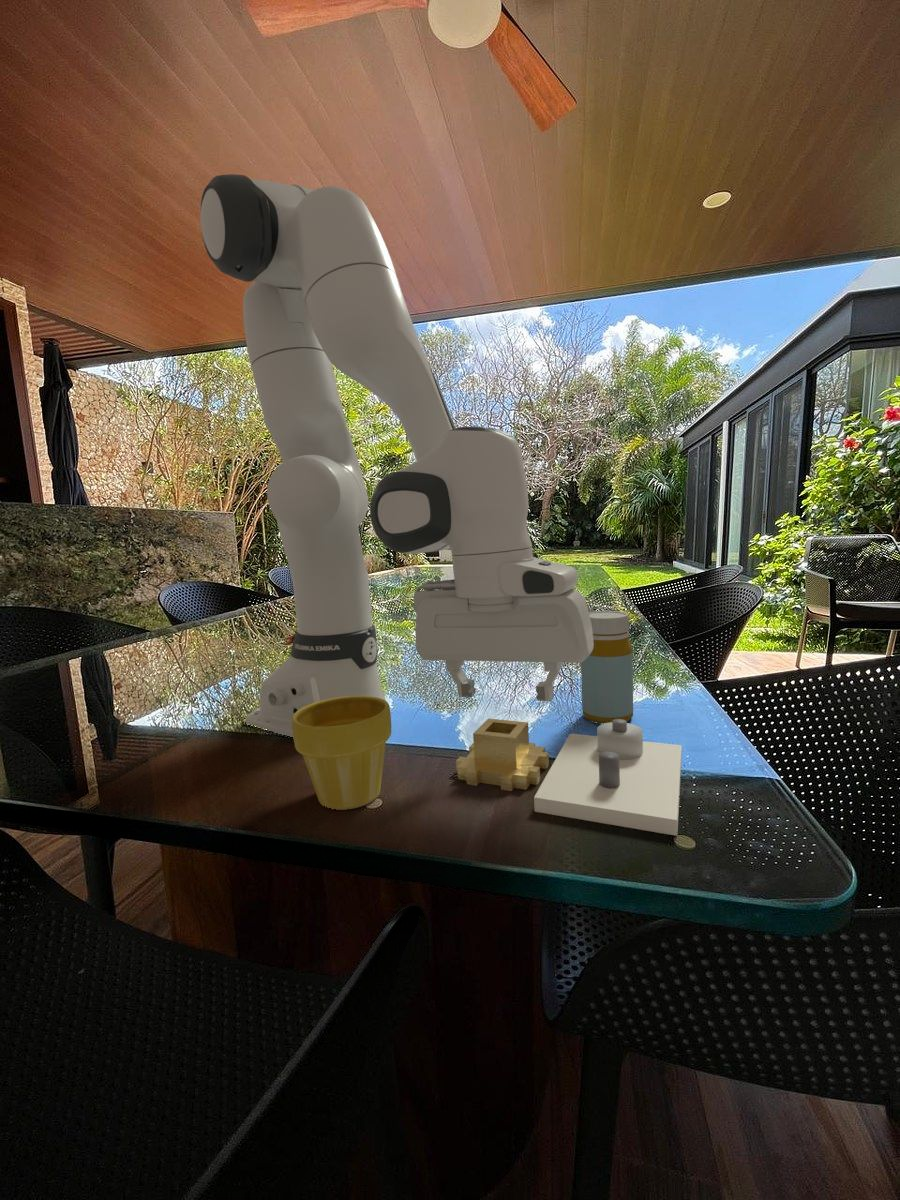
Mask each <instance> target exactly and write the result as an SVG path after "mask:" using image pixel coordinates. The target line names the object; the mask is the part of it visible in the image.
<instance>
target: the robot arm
mask: <svg viewBox="0 0 900 1200" xmlns="http://www.w3.org/2000/svg"><path fill="white" fill-rule="evenodd" d="M200 202H201V203H200V213H199V214H200V216H199V218H200V219H199V221H200V230H201V235H202V241H203V243H204V247H205V250H206V253H207V256H208V257H209V259H210V260H211V261H212V263H213V264H214V266H215V267H216V268H217V270H219V272H221V273H223V274H225V275H227V276H229V277H232V278H234V279H237V280H240V281H242V282H247V283H250V282H252V283H251V284H250V285H249V286H248V287H247V289H246V290H245V293H244V296H243V299H242V311H243V313H242V314H243V315H242V316H243V327H244V336H245V342H246V348H247V354H248V358H249V362H250V367H251V371H252V376H253V379H254V383H255V384H254V385H255V388H256V391H257V396H258V398H259V399H258V401H259V403H260V408H261V412H262V416H263V420H264V424H265V425H266V428H267V430H268V432H269V434H270V436H271V438H272V440H273V442H274V444H275V446H276V448H277V450H278V453H279V455H280V458H281V460H282V463H281V464H280V465H278V467H276V468H275V470H274V471H273V472H272V474H271V476H270V478H269V481H268V483H267V490H266V491H267V493H266V494H267V498H266V499H267V502H268V505H269V509H270V511H271V513H272V514H273V516H274V518H275V519H276V522H277V527H278V530H279V534H280V539H281V543H282V546H283V551H284V554H285V558H286V560H287V563H288V567H289V568H288V569H289V573H290V575H291V581H292V582H291V583H292V587H293V596H294V597H293V598H294V606H295V615H296V617H295V619H296V625H297V631H296V632H295V633H294V634H293V635H291V636H288V637H287V636H286V637H284V638H283V641H285V640H289V641H286V642H285V643H284V644H283V645H284V646H285V647H286V646H288V645H291V649H290V654H289V655H290V656H289V657H288V658H287V659H286V660H285V661H284V662H283V663H282V664H281V665H280V666H279V667H278V668H276V669H275V670H274V671H273V672H272V673H271V674H270V675H269V676H268V677H266V679H264V681H263V682H262V684H261V686H260V691H259V707H258V708H256V709H254V710H253V711H251V712H250V713H249V714H248V715H246V716H245V719H244V721H245V722H246V723H249V724H252V725H255V726H257V727H260V728H264V729H267V730H269V731H273V732H275V733H274V734H276V733H278V734H277V735H279V734H283V735H287V736H290V737H293V729H292V716H293V715H294V713H295V712H296V711H298V710H299V709H301V708H303V707H305V706H307V705H309V704H312V703H315V702H318V701H322V700H326V699H331V698H337V697H345V696H372V697H378V698H381V699H384V700H385V701H387V700H386V698H385V694H384V692H383V688H382V684H381V679H380V674H379V669H378V662H377V660H378V642H377V633H376V632H377V631H376V626H375V625H374V624H373V619H372V616H373V615H372V608H371V607H372V605H371V592H370V581H369V580H370V579H369V572H368V569H367V566H366V562H365V557H364V552H363V547H362V546H363V545H362V541H361V536H360V528H359V526H361V524H362V522H363V521H364V519H365V517H366V516H367V512H368V510H369V515H370V516H369V517H370V521H371V525H372V528H373V531H374V533H375V535H376V536H377V538H378V540H379V541H380V542H381V543H382V544H383V546H385V547H387V549H388V550H390V551H393V552H395V553H401V554H407V555H414V554H415V555H416V554H423V553H424V554H425V553H434V552H435V553H436V552H441V551H445V550H446V551H447V550H448V551H451V560H452V561H451V563H452V569H453V570H452V571H453V578H454V579H444V580H440V581H439V580H438V581H437V580H436V581H434V580H426V581H424V582H422V584H421V585H419V586H418V587H417V588H416V589H415V591H414V593H413V596H412V597H413V598H412V599H413V607H414V612H415V629H414V630H415V631H414V632H415V649H416V652H417V655H419V657H420V658H421V659H422V660H423V661H445V668H446V671H447V672H448V673H449V675H450V677H451V678H452V679H453V681H454V683H456V684H457V685H456V686H457V695H458V697H459V698H472V697H473V696H475V694H476V687H475V686H476V683H475V682H476V681H475V679H474V678H473V679H472V678H468V675H467V674H466V673H465V671H464V669H463V667H462V666H463V665H464V664H465V662H466V661H467V662H507V663H508V662H513V663H514V662H516V663H518V662H519V663H543V668H544V672H547V673H548V672H549V673H548V674H547V677H546V679H545V681H539V682H538V683H537V684H536V686H535V692H536V694H537V695H536V700H537V701H538V702H552V701H553V699H554V695H555V693H554V691H555V690H554V682H555V681H556V678H557V677H558V676H559V672H560V671H561V669H562V667H563V666H562V663H564V664H565V663H573V664H579V663H580V664H581V662H583V661H584V660H585V659H586V658H587V657H588V656H589V655H590V654H591V652H592V650H593V647H594V642H593V632H592V625H591V620H590V615H589V612H590V611H589V607H588V604H587V600H586V599H585V597H584V596H583V594H582V593H581V592H580V591H579V590H577V589H576V588H574V587H576V585H577V584H578V581H579V575H578V571H577V569H576V568H575V567H573V566H570V565H567V564H562V563H558V562H555V561H549V560H546V559H542V558H538V557H534V556H533V555H534V554H533V543H532V541H531V537H530V535H529V531H528V527H527V525H528V523H527V520H528V519H527V518H528V513H529V506H530V505H529V493H528V487H527V486H528V485H527V479H526V472H525V467H524V459H523V456H522V452H521V448H520V445H519V442H518V440H517V439H516V438H515V437H514V436H513V435H512V434H511V433H509V432H507V431H504V430H501V429H498V428H494V427H485V426H461V427H460V426H459V427H456V426H455V424H454V421H453V418H452V416H451V413H450V410H449V407H448V404H447V403H446V400H445V397H444V395H443V392H442V389H441V387H440V384H439V383H438V380H437V379H436V376H435V375H434V371H433V369H432V367H431V365H430V363H429V360H428V358H427V355H426V352H425V350H424V348H423V347H422V344H421V342H420V339H419V337H418V335H417V332H416V329H415V326H414V323H413V321H412V318H411V315H410V312H409V309H408V306H407V303H406V301H405V297H404V294H403V291H402V288H401V285H400V281H399V278H398V276H397V272H396V268H395V265H394V262H393V260H392V257H391V255H390V252H389V250H388V249H389V248H388V247H387V244H386V243H385V240H384V238H383V235H382V234H381V231H380V230H379V227H378V226H377V223H376V221H375V219H374V217H373V216H372V214H371V212H370V210H369V208H368V206H367V205H366V204H365V202H364V201H363V200H362V199H361V197H360V196H359V195H357V194H356V193H355V192H353V191H351V190H350V189H347V188H344V187H341V186H336V185H335V186H333V185H329V186H322V187H319V188H317V189H310V188H309V187H304V186H302V185H297V184H286V183H282V182H276V181H271V180H265V179H264V180H262V179H251V178H249V177H248V176H246V175H245V174H231V173H228V174H221V175H216V176H213V178H212V179H211V180H210V181H209V183H207V185H206V186H205V188H204V190H203V192H202V196H201V201H200ZM333 366H334V367H333ZM334 368H336V369H337V370H338V371H340V372H341V373H342V374H344V375H345V376H346V377H348V378H349V379H352V380H353V381H354V382H356V383H358V384H360V385H361V386H362V387H363V388H365V389H367V390H368V391H370V392H371V393H372V394H374V395H375V396H376V397H378V398H379V399H380V400H381V401H382V402H384V404H385V405H387V407H389V408H390V409H391V410H392V412H393V413H394V414H395V416H396V417H397V419H398V420H399V422H400V424H401V425H402V427H403V430H404V433H405V435H406V437H407V438H406V439H407V440H408V443H409V446H410V448H411V451H412V452H413V455H414V457H415V460H416V461H414V462H413V463H411V464H409V465H407V466H405V467H404V468H401V469H399V470H397V471H394V472H391V473H388V474H387V475H385V476H384V477H382V479H381V480H380V481H379V482H378V483H377V484H376V487H375V488H374V491H373V493H372V496H371V499H370V504H369V496H368V492H367V487H366V484H365V480H364V476H363V473H362V469H361V466H360V462H359V460H358V459H359V458H358V456H357V453H356V449H355V446H354V443H353V438H352V436H351V433H350V430H349V427H348V424H347V421H346V417H345V413H344V411H343V407H342V406H343V405H342V403H341V402H342V401H341V397H340V394H339V389H338V384H337V381H336V376H335V372H334ZM369 505H370V507H369ZM368 508H369V509H368ZM245 722H244V723H245ZM269 731H268V732H269ZM283 735H282V736H283ZM287 736H286V737H287ZM290 737H289V738H290Z"/></svg>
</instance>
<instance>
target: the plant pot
mask: <svg viewBox="0 0 900 1200" xmlns="http://www.w3.org/2000/svg"><path fill="white" fill-rule="evenodd" d="M385 700H386V699H385ZM385 700H384V699H381V698H378V697H372V696H345V697H337V698H331V699H326V700H322V701H318V702H315V703H312V704H309V705H307V706H305V707H303V708H301V709H299V710H298V711H296V712H295V713H294V715H293V716H292V729H293V738H292V739H293V743H294V748H295V750H296V751H297V752H298V753H299V754H301V755H302V757H303V759H304V762H305V765H306V768H307V771H308V773H309V776H310V780H311V782H312V785H313V788H314V790H315V793H316V796H317V800H318V802H319V804H320V805H322V807H324V806H325V807H324V808H326V807H327V809H329V808H331V809H330V810H334V809H336V811H346V810H347V811H348V809H349V810H354V809H358V808H361V807H364V806H366V805H368V804H371V803H372V802H373V801H375V800H376V799H377V798H378V796H379V795H380V792H381V786H382V785H381V784H382V777H383V769H384V768H383V767H384V760H385V754H386V753H385V750H386V743H387V742H388V740H389V739H390V738H391V736H392V716H391V708H390V704H389V702H388V701H387V700H386V701H385Z"/></svg>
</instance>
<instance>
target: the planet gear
mask: <svg viewBox="0 0 900 1200" xmlns="http://www.w3.org/2000/svg"><path fill="white" fill-rule="evenodd" d="M472 738H473V740H472V741H473V742H472V743H471V745H469V747H468V752H469V754H468V755H467V756H459V757H458V758H456V760H455V768H456V770H455V771H456V774H457V779H458V780H461V781H466V785H469V786H474V787H475V786H477V787H478V785H479V784H480V783H481V784H487V785H494V786H499V787H500V790H501V791H507V792H513V790H514V789H519V790H525V791H526V790H527V789H528V788H529V787H530V785H535V786H536V785H538V784H539V783H540V781H541V769H543V770H547V769H548V767H549V766H550V761H549V759H550V757H549V754H550V753H549V752H546V747H545V746H538V745H536V743H535V742H530V740H529V739H530V736H529V722H528V721H526V722H525V721H518V720H517V721H516V720H509V719H508V720H507V719H497V718H496V719H495V718H487V719H486V720H485V721H484V722H483V723H482V724H481V725H480V726H479V727H478V728H477V729H476V730H475V731H474V732H473V733H472Z"/></svg>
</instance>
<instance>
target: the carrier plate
mask: <svg viewBox="0 0 900 1200" xmlns="http://www.w3.org/2000/svg"><path fill="white" fill-rule="evenodd" d="M596 734H597V735H589V734H579V733H578V734H577V733H569V735H568V737H567V738H566V740H565V742H564V744H563V746H562V747H561V749H560V751H559V752H558V754H557V755H556V758H555V760H554V761H553V763H552V765H551V767H550V768H549V770H548V771H547V774H546V775H545V778H544V779H543V781H542V783H541V784H540V786H539V788H538V790H537V791H536V793H535V795H534V797H533V799H534V800H533V802H534V812H536V813H542V814H547V815H553V816H559V817H563V818H564V817H565V818H570V819H577V820H583V821H588V822H593V823H599V824H605V825H613V826H618V827H623V828H629V829H636V830H641V831H645V832H646V831H647V832H652V833H653V832H654V833H658V834H664V835H671V836H677V837H678V831H679V815H680V814H679V812H680V811H679V809H680V797H679V796H681V795H680V791H681V778H680V777H682V760H681V758H682V755H683V753H682V751H683V750H682V747H683V745H682V744H674V743H673V744H672V743H665V742H664V743H663V742H653V741H644V738H643V736H644V734H643V729H642V728H641V727H640V726H638V725H635V724H634V723H633V724H632V723H630V722H629V723H628V722H627V721H625V720H622V719H615V720H613V721H612V722H610V723H605V724H599V726H598V727H597V728H596Z"/></svg>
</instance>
